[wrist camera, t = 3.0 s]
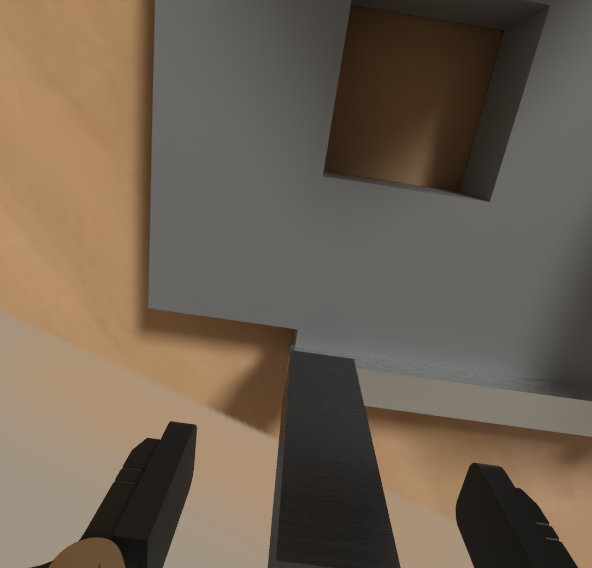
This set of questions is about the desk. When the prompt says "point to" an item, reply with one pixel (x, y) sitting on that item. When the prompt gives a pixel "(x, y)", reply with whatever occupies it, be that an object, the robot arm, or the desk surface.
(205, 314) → the cubby
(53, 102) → the desk surface
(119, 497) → the robot arm
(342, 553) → the grey bar handle
